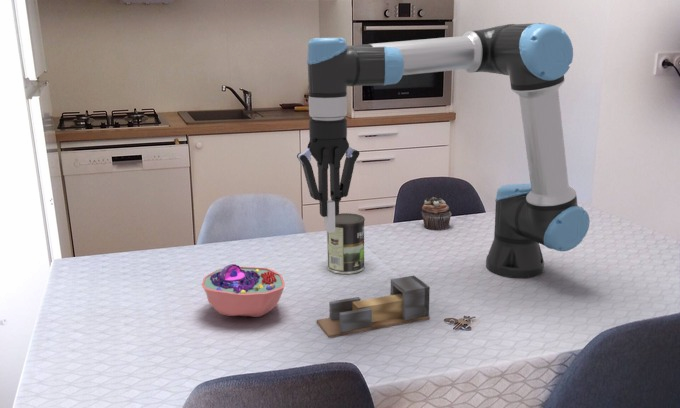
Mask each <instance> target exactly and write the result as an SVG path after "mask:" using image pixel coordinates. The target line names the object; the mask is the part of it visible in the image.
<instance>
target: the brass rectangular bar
mask: <svg viewBox="0 0 680 408" xmlns="http://www.w3.org/2000/svg"><path fill="white" fill-rule="evenodd" d="M364 308H370V309H372V322H377V321H382V320H388V319H393V318H398V317H402V310H403V293H401V294H395V295H391V294H390V295H385V296H378V297H374V298H373V297H372V298H367V299H361V300H360V301H354V302H352V311H353V310H358V309H364Z"/></svg>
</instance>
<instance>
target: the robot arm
mask: <svg viewBox="0 0 680 408" xmlns="http://www.w3.org/2000/svg"><path fill="white" fill-rule="evenodd" d="M307 47H308V48H307V61H306V64H307V78H308V79H307V80H308V115H309V117H311V118H310V120H309V121H308V127H309V128H308V129H309V133H308V134H309V141H308V144H307V149H305V150H304V151H303V152H299V153H297V155H296V158H297V159H298V161H299V162H300V164H301V166H302V169H303V172H304V177H305V181H306V183H307V184H306V185H307V187H308V193H309V195H310V196H309V197H311V198H313V200H314V201H319V215H320V216H321V217H323V229H324V230H325V232H326V233H327V232H328V233H332V232H335V215H338V214H340V202H341V200H342V198H346V197H348V195H349V190H350V186H351V183H352V176H353V173H354V168H355V163H356V161H357V160H358V158H359V156H360V152H359V150H358V149H354V148H352V147H351V146H350V143H349V141H348V138H347V137H348V120H347V118H345V117H346V116H347V115H348V108H347V107H348V105H347V102H348V100H347V97H348V92H347V91H348V89H347V88H348V87H358V86H359V87H360V86H361V87H362V86H363V87H364V86H387V85H396V84H398V83H399V82H400V80H401V79H402V78H403V76H408V75H409V76H410V75H418V74H428V73H439V72H448V71H449V72H450V71H457V70H464V71H465V72H467V73H470V74H471V73H489V74H490V73H491V74H497V75H504V76H509V83H510V89H511V91H512V92H514V93H515V94H516V95H517V96H518V98H519V105H520V113H521V119H522V120H521V121H522V127H523V136H524V143H525V144H524V145H525V149H526V150H525V151H526V157H527V158H526V159H527V166H528V174H529V182H530V183H511V184H505V185H502V186H500V187H498V188H497V191H496V197H495V209H494V210H495V213H494V215H495V216H494V231H493V232H494V234H493V235H494V236H493V241H492V243H491V246H490V248H489V251H488V254H487V255H486V259H485V267H486V268H487V270H488V271H490V272H491V273H493V274H496V275H499V276H503V277H508V278H515V279H517V278H518V279H519V278H521V279H524V278H525V279H526V278H533V277H534V278H535V277H537V276H540V275H542V274H543V273H544V271H545V261H544V257H543V253H542V249H541V245H543V247H546V248H548V249H550V250H555V251H557V252H569V251H571V250H573V249H575V248H576V247H577V246H579V245H580V244H581V243H582V242H583V239H584V238H585V237H586V235H588V234H587V233H588V231H589V230H590V229H589V227H590V215H589V213H588V211H586V210H585V209H584V208H583V207H582V206H579V205H578V198H577V196H578V195H577V191H576V189H574V188H573V187H571V186H570V185H569V178H568V169H567V168H568V167H567V159H566V148H565V140H564V131H563V121H562V111H561V102H560V94H559V89H560V88H561V86H562V85H563V84H564V83H565V75H566V73H567V72H568V71H569V69H570V65H571V64H572V63H573V59H574V48H573V43H572V40H571V39H570V37H569V35H568V33H566V31H565V30H563V29H562V28H561V27H559V26H557V25H555V24H549V23H548V24H547V23H542V22H534V23H517V24H516V23H512V24H511V23H509V24H502V25H498V26H497V25H496V26H494V27H493V26H492V27H489V28H483V29H477V30H468V31H466V32H464V33H463V34H462V36H461V35H459V36H458V35H457V36H450V37H448V36H447V37H437V38H436V37H435V38H426V39H425V38H424V39H411V40H400V41H388V42H377V43H375V42H374V43H368V44H367V43H366V44H353V45H347V40H346V38H344V37H313V38H311V39H310V40H309V41H308V45H307ZM344 155H345V159H344V163H343V164H344V165H343V169H342V173H341V175H340V168H341V160H342V159H343V157H344ZM311 156H312V157H313V159H314V160H315V161H316V165H317V177H318V178H317V181H316V177H315V174H314V169H313V166H312V163H311V161H312V157H311ZM328 169H329V170H328ZM328 171H329V172H328ZM328 173H329V175H328ZM328 177H329V178H328ZM328 183H329V184H328ZM329 194H330V195H329ZM329 196H330V198H329Z"/></svg>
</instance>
